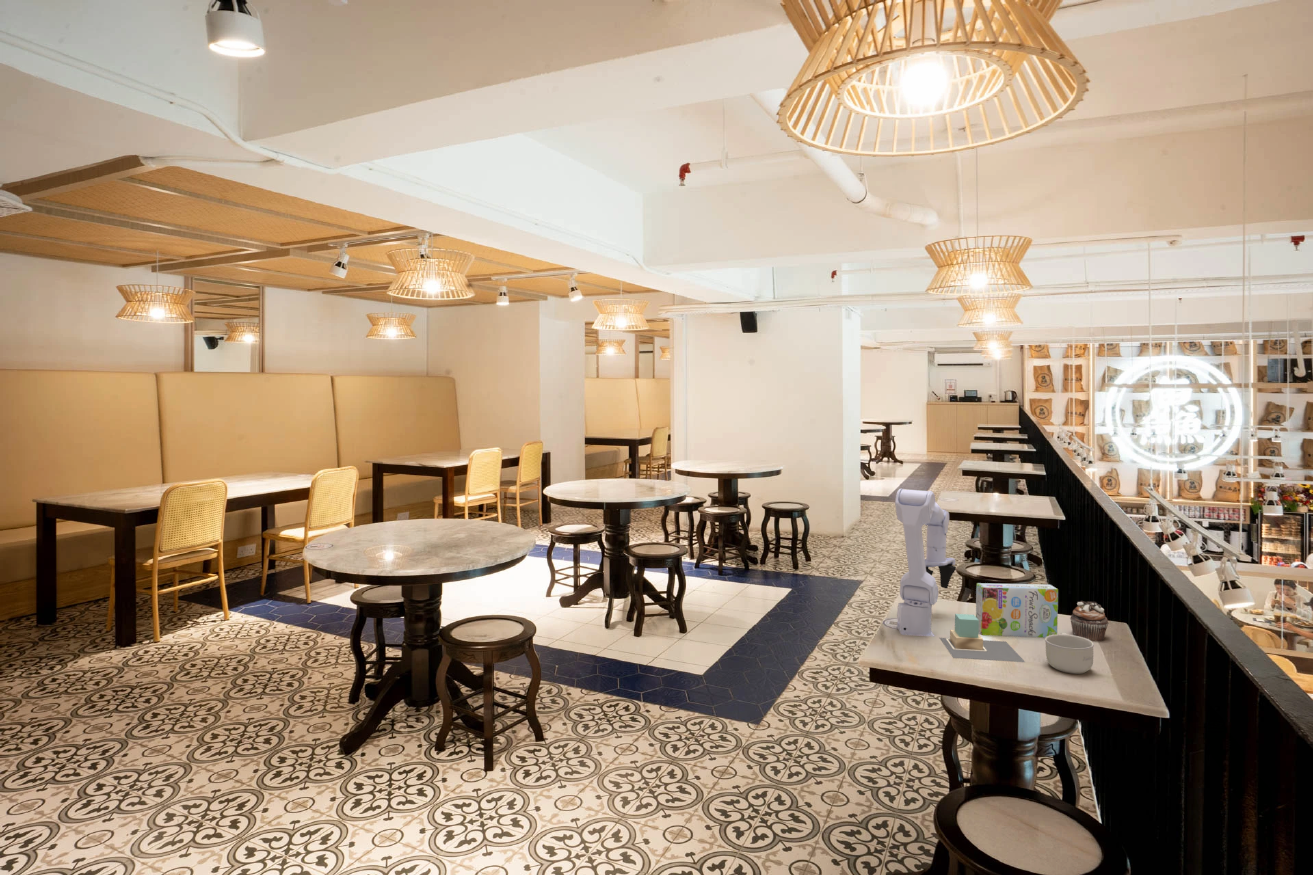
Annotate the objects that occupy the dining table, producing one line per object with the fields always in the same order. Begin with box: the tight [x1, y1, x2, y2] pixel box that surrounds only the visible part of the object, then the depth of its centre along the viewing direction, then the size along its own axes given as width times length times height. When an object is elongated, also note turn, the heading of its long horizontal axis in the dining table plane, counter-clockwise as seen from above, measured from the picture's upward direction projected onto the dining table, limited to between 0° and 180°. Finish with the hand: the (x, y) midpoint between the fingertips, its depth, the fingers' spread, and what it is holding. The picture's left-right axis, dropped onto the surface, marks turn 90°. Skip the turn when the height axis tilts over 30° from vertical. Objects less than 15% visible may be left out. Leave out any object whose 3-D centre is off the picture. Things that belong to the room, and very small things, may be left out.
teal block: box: [954, 613, 980, 638], centre depth 198 cm, size 5×5×5 cm
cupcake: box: [1069, 600, 1109, 642], centre depth 207 cm, size 10×10×10 cm
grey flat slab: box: [939, 637, 1026, 663], centre depth 195 cm, size 18×16×1 cm
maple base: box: [949, 629, 984, 650], centre depth 198 cm, size 7×7×3 cm
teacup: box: [1044, 632, 1095, 675], centre depth 182 cm, size 14×11×8 cm
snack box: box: [975, 582, 1059, 638], centre depth 208 cm, size 21×6×15 cm, turn 84°
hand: (935, 588), depth 224 cm, fingers open, 7 cm apart
